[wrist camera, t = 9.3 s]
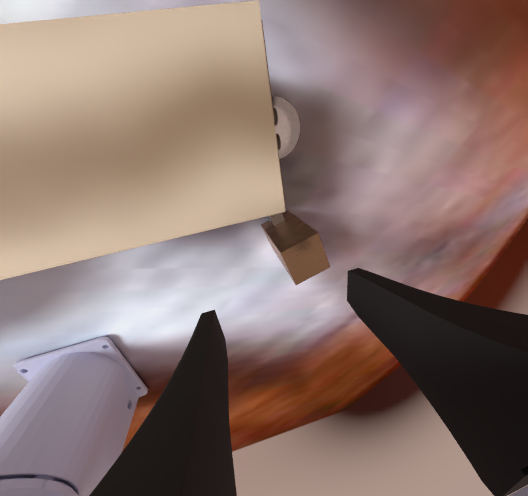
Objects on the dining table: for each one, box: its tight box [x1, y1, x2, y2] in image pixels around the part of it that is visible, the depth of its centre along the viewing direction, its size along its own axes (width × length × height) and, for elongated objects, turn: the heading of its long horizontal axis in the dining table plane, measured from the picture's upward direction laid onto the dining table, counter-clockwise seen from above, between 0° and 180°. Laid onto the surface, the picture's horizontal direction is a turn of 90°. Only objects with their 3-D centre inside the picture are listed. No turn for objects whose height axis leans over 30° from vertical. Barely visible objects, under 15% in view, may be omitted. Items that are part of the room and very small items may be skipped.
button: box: [272, 96, 300, 159], centre depth 15 cm, size 4×4×1 cm
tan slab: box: [0, 0, 285, 280], centre depth 11 cm, size 8×15×7 cm, turn 100°
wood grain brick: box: [261, 211, 330, 285], centre depth 14 cm, size 12×3×6 cm, turn 25°
